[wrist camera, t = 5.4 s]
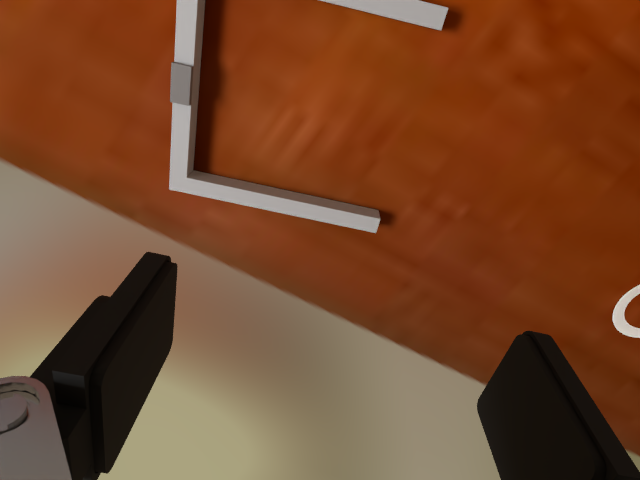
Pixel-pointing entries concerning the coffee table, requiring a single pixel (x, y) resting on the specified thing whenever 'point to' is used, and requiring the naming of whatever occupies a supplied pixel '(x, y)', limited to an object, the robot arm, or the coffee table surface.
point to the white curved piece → (619, 314)
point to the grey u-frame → (185, 78)
